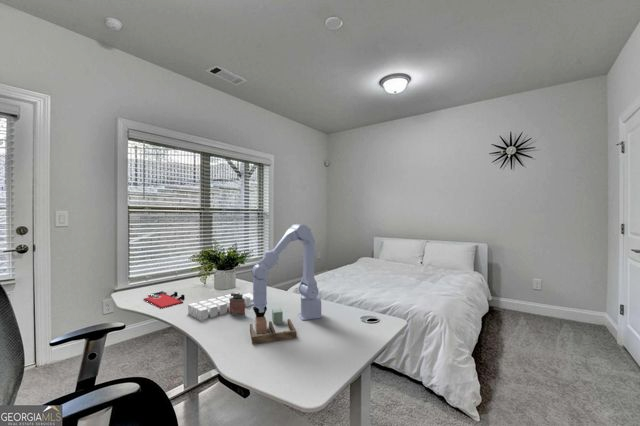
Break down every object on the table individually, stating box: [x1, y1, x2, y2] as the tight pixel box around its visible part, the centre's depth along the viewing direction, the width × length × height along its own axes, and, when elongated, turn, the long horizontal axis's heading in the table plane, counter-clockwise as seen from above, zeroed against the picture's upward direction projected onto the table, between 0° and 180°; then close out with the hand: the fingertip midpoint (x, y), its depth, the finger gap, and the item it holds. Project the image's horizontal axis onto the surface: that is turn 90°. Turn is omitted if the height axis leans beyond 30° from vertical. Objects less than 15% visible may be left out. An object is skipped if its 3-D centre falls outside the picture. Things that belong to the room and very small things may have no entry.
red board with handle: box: [143, 290, 186, 309], centre depth 158 cm, size 30×3×15 cm
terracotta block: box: [254, 315, 268, 335], centre depth 117 cm, size 4×6×4 cm, turn 18°
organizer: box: [187, 292, 253, 321], centre depth 145 cm, size 13×5×35 cm
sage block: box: [271, 308, 284, 325], centre depth 126 cm, size 4×4×5 cm
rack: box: [249, 318, 298, 345], centre depth 114 cm, size 17×13×3 cm
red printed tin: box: [228, 292, 246, 316], centre depth 136 cm, size 8×3×10 cm, turn 74°
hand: (259, 323), depth 121 cm, fingers closed
